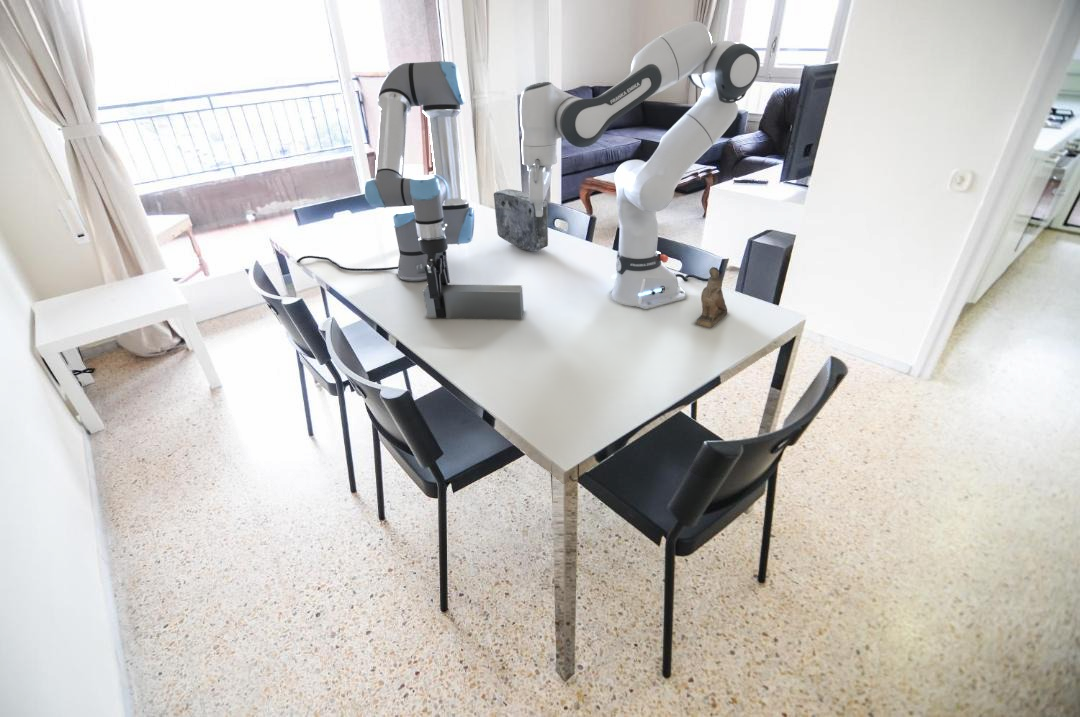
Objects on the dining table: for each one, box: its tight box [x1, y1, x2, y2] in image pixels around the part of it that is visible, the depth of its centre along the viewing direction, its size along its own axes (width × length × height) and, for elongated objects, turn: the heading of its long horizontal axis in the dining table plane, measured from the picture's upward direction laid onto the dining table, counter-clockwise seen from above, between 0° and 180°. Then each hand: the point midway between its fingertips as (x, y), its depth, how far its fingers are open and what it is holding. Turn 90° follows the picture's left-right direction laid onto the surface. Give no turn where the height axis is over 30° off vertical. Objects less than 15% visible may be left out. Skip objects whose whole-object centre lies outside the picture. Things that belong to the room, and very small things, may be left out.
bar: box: [422, 284, 524, 321], centre depth 144 cm, size 28×5×9 cm, turn 84°
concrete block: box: [493, 188, 549, 252], centre depth 191 cm, size 27×9×20 cm, turn 36°
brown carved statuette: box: [695, 266, 728, 328], centre depth 135 cm, size 12×6×18 cm, turn 136°
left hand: (443, 312), depth 147 cm, fingers closed on bar, 5 cm apart
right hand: (541, 211), depth 133 cm, fingers open, 8 cm apart
